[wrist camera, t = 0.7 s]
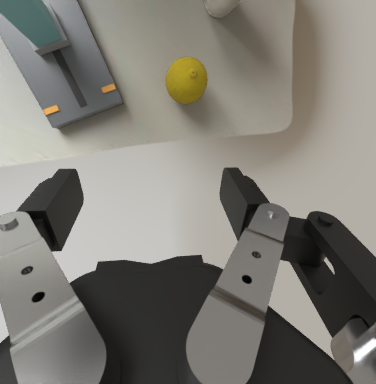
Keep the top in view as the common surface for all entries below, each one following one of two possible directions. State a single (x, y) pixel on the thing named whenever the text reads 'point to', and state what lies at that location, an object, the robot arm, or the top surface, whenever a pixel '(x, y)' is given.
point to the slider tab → (36, 23)
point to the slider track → (64, 69)
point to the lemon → (186, 80)
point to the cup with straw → (220, 7)
